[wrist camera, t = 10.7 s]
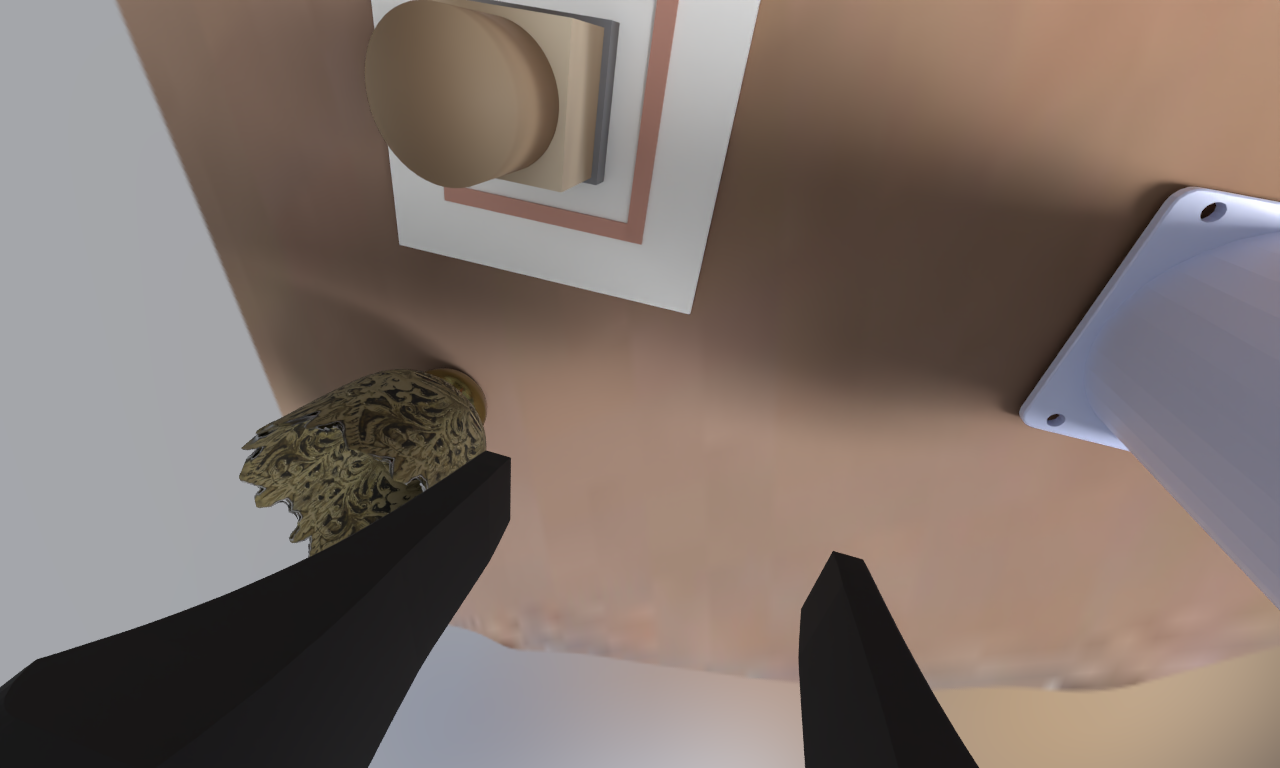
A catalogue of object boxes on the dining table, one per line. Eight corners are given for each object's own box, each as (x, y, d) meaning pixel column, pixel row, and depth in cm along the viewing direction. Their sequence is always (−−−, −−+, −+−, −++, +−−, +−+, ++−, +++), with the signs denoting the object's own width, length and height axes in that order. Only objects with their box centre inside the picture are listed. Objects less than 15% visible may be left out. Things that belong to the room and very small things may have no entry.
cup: (359, 340, 24) (194, 441, 17) (486, 307, 21) (348, 411, 14) (436, 463, 27) (322, 590, 20) (554, 448, 24) (467, 588, 18)
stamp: (619, 22, 15) (534, -8, 10) (603, 181, 17) (528, 222, 12) (480, -1, 15) (331, -41, 10) (483, 156, 17) (364, 185, 12)
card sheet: (789, -128, 12) (789, -134, 12) (690, 311, 19) (689, 315, 19) (357, -182, 14) (346, -189, 14) (404, 242, 20) (398, 245, 20)
